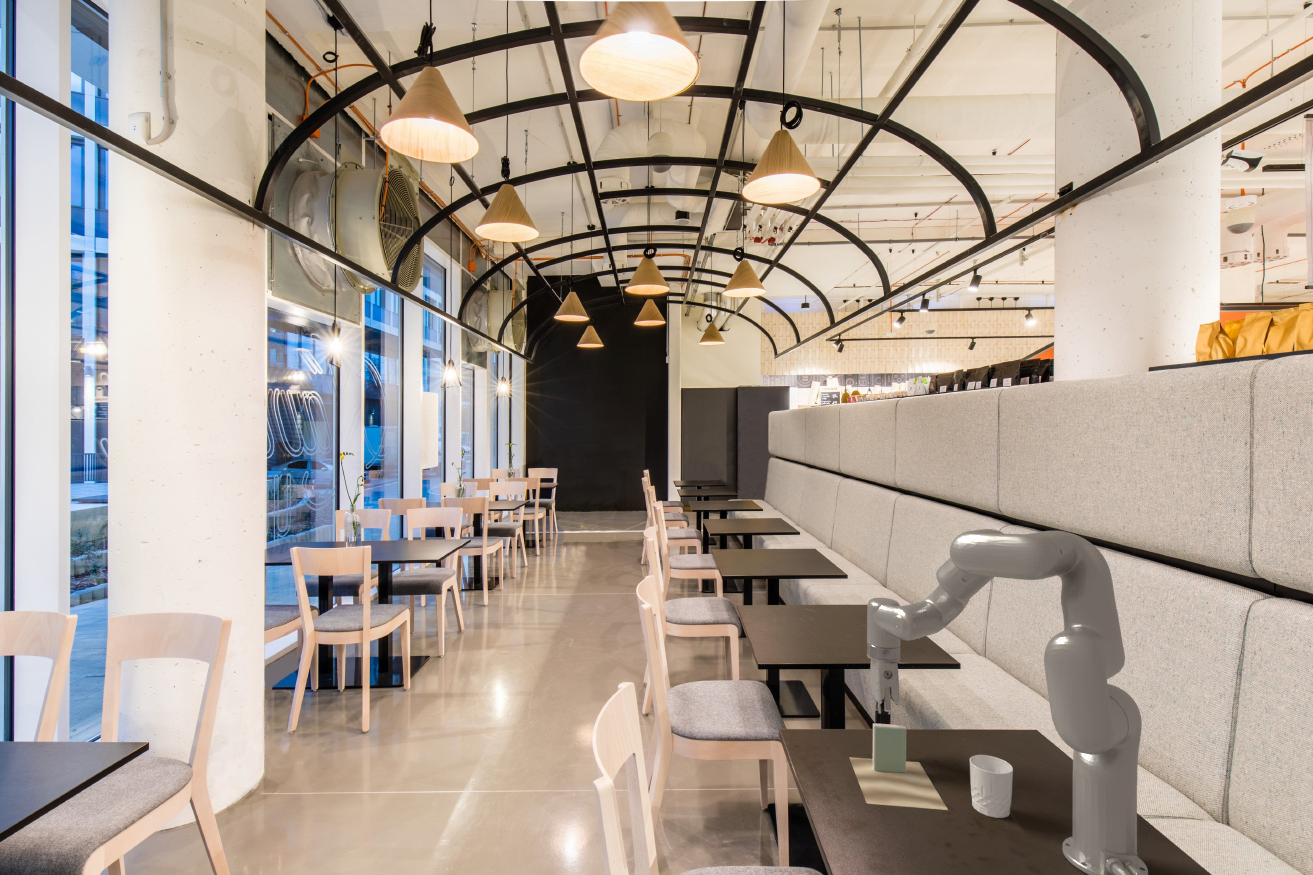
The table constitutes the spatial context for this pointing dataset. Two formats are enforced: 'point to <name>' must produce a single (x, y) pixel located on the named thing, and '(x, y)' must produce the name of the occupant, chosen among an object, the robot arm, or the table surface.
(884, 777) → the board
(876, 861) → the table surface
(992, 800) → the white cup
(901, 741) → the tile
